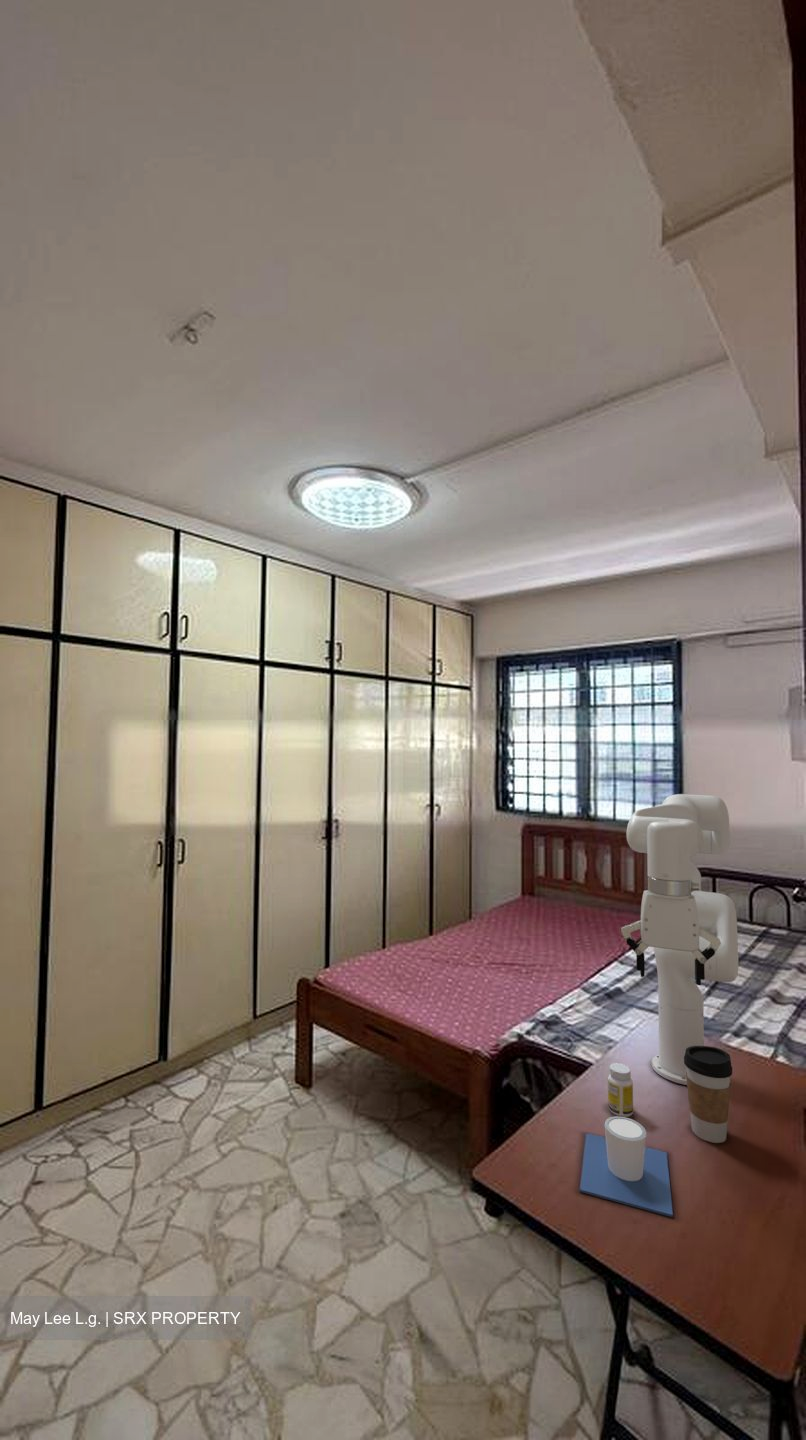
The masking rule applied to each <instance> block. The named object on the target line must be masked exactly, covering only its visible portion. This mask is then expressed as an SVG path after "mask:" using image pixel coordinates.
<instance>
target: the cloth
mask: <svg viewBox="0 0 806 1440" xmlns="http://www.w3.org/2000/svg"><path fill="white" fill-rule="evenodd" d="M668 1162H669V1161H668V1153H667V1151H663V1150H659V1149H654V1148H652V1147H651V1148H650V1147H647V1146H645V1155H644V1167H643V1176H642V1178H641V1179H640V1180H637V1181H626V1180H623V1179H620V1178H618V1177H617V1176H615V1175H614V1174H613V1173H612V1172H611V1171H610V1169H609V1166H608V1157H607V1146H606V1136H605V1137H604V1136H601V1135H598V1134H597V1135H596V1134H592V1133H588V1132H586V1133H585V1141H584V1149H583V1159H582V1167H581V1174H580V1175H581V1177H580V1185H579V1193H582V1194H586V1195H590V1196H593V1197H597V1198H601V1199H604V1200H608V1201H611V1202H614V1203H615V1202H616V1203H619V1204H623V1205H626V1206H629V1207H633V1208H636V1209H641V1210H644V1211H646V1212H647V1211H648V1212H650V1213H655V1214H659V1215H662V1216H666V1217H669V1218H674V1211H673V1210H674V1209H673V1202H672V1193H671V1183H670V1172H669V1163H668Z"/></svg>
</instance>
